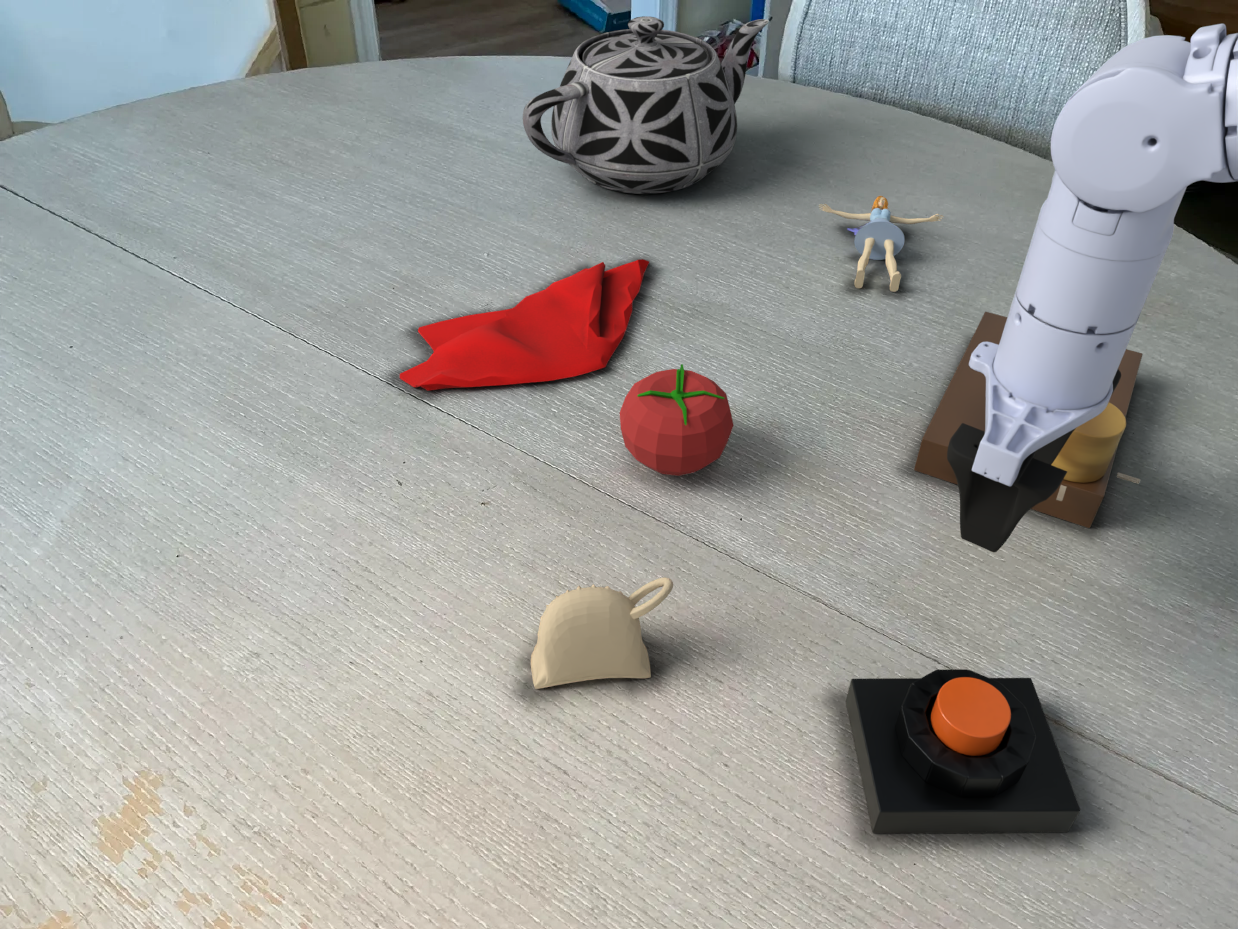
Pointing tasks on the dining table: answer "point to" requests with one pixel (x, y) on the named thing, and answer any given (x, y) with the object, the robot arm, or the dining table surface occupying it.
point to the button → (970, 716)
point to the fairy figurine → (879, 238)
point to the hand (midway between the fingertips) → (1004, 502)
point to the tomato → (676, 421)
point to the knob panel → (969, 408)
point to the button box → (956, 762)
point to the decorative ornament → (594, 635)
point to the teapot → (644, 107)
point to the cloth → (534, 334)
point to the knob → (1092, 446)
